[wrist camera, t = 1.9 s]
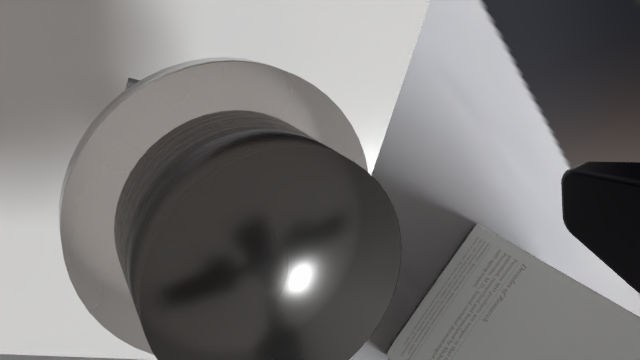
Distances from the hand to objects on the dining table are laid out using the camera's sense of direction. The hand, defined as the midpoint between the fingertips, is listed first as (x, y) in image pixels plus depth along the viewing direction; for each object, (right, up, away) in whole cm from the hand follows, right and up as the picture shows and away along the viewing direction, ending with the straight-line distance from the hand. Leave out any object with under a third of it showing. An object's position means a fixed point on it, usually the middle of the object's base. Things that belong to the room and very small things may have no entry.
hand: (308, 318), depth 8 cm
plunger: (-4, +3, +8) cm, 9 cm away
